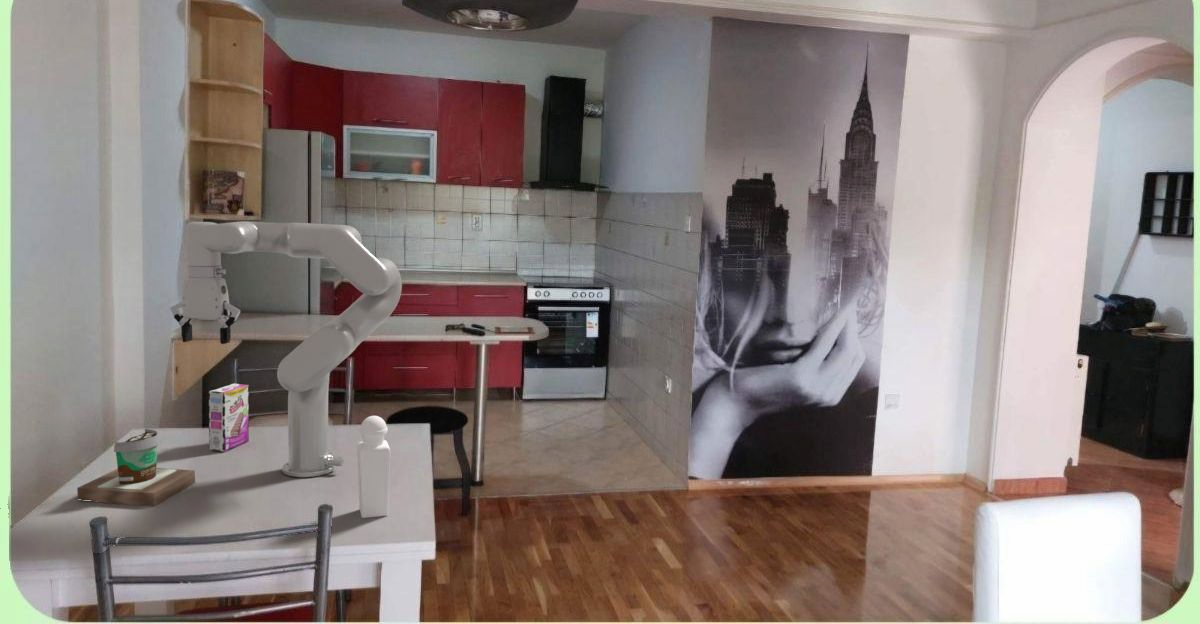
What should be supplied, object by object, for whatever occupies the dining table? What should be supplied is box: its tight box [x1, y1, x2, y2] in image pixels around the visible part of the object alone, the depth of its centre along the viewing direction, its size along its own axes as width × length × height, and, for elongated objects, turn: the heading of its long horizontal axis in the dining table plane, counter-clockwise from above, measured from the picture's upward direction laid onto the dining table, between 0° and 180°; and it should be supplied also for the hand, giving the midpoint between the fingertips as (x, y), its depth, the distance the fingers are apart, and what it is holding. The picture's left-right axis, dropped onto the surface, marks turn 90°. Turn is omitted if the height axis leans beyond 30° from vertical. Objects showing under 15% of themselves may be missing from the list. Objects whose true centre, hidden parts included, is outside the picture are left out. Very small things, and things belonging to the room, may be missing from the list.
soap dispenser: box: [356, 415, 391, 519], centre depth 188 cm, size 6×6×22 cm
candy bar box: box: [208, 383, 250, 453], centre depth 233 cm, size 11×5×16 cm, turn 169°
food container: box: [113, 428, 162, 484], centre depth 197 cm, size 12×6×10 cm, turn 176°
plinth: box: [76, 467, 196, 507], centre depth 197 cm, size 18×16×3 cm
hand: (206, 342), depth 210 cm, fingers open, 9 cm apart
